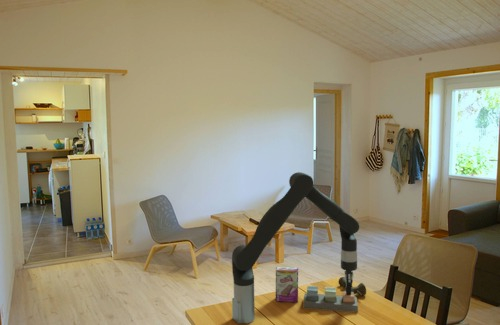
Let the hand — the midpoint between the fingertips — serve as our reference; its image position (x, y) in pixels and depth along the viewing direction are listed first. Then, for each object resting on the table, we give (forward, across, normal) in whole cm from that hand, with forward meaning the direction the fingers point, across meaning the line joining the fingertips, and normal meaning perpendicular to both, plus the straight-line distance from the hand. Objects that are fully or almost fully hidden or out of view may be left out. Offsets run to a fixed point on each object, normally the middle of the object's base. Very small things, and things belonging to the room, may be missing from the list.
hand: (348, 293), depth 191 cm
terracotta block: (+5, 0, 0) cm, 5 cm away
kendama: (+7, +16, -2) cm, 18 cm away
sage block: (+3, 0, +9) cm, 9 cm away
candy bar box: (+6, +2, +30) cm, 30 cm away
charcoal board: (+6, 0, +9) cm, 11 cm away
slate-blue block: (+3, 0, +17) cm, 17 cm away
